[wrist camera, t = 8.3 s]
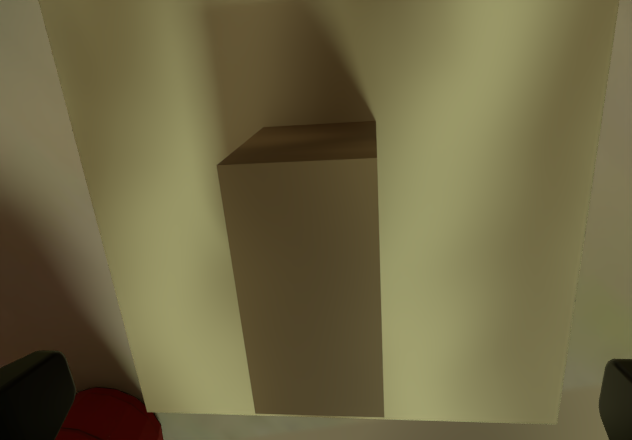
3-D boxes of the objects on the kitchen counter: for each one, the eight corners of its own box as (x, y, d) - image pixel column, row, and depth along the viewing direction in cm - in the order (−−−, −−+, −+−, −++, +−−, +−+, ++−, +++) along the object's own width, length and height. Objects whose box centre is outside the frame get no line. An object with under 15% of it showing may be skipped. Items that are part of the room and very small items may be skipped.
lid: (613, -76, 11) (787, -156, 6) (548, 406, 16) (618, 552, 11) (53, -16, 12) (-125, -46, 8) (156, 396, 17) (82, 518, 13)
